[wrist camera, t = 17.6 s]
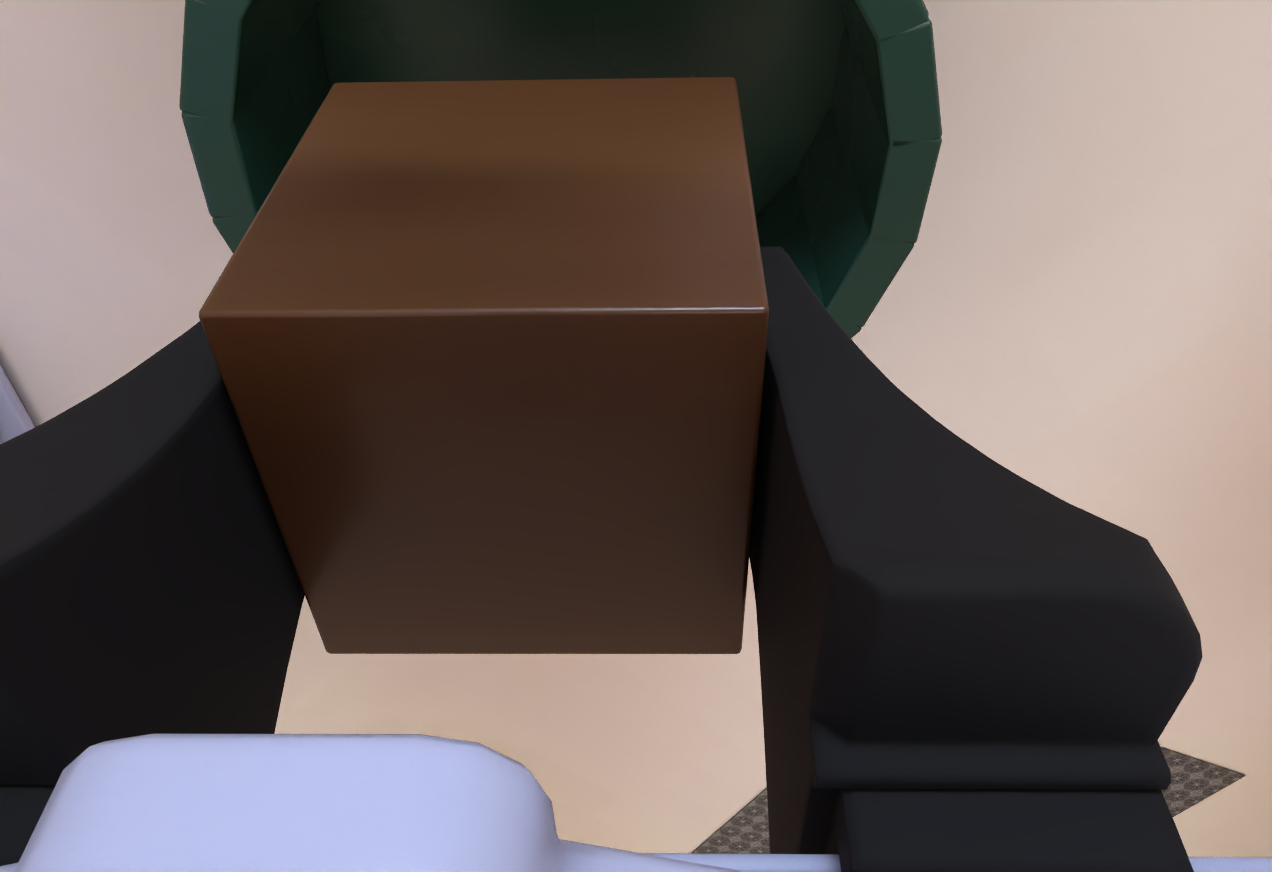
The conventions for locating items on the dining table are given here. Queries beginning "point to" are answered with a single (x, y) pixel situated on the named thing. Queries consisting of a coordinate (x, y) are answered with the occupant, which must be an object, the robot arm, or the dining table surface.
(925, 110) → the tin
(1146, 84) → the dining table surface
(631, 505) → the block
